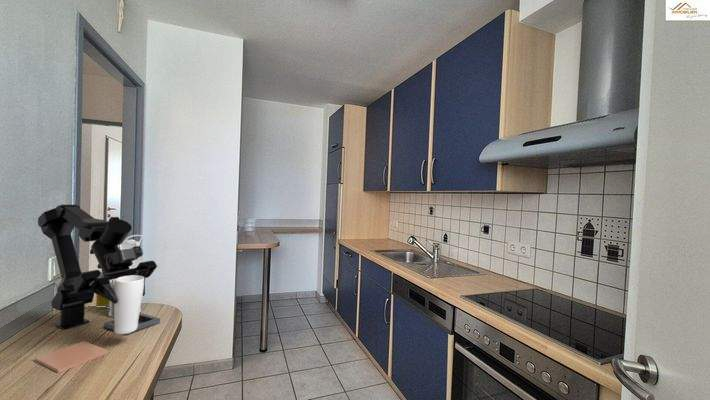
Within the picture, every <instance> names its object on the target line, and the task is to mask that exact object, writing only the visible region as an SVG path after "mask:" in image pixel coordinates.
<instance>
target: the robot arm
mask: <svg viewBox="0 0 710 400" xmlns="http://www.w3.org/2000/svg"><path fill="white" fill-rule="evenodd" d="M37 225H38V227H39V228H40V230H41V232H42V234H43V235H45V236H46V237H48V238H49V239H50V240H51V242H52V246H53V249H54V255H55V258H56V262H57V265H58V270H59V272H60V273H59V274H60V277H61V280H60V281H59V284H58V286H57V288H56V290H57V292H56V294H55V295H54V296H53V299H51V307H52V309H54V310H57V311H60V314H59V318H60V319H59V320H60V321H59V322H58V323H55V324H54V327H56V328H59V329H61V330H67V329H72V328H74V327H78V326H82V325H84V324H87V323H88V324H89V323H90V322H91V321H90V319H86V318H85V307H86V304H89V303H90V304H91V303H93V301H94V296H95V294H98V295H100V296H102V297H104V298H106V299H108V300H109V301H111V302H113V303H114V304H116V303H117V302H118V300H117V297H116V295H115V293H114V291H113V289H112V287H111V285H110V282H111V281H112V280H115V279H117V278H119V277H123V276H131V275H137V276H143V277H144V290H143V297H144V296H145V295H146V282H145V281H146V279H147V278H149V277H151V276H152V274H153V273H154V272H155V270H156V269H157V267H158V264H157V263H156V262H155V260H146V261H142V262H140V263H139V265H138V266H137V267H136V268H132V269H129V266H132V264H133V262H132V261H134V260H135V259H138V258H139V257H141V258H142V256H143V255H144V252H143V249H142V248H141V246H135V247H133V248H131V249H124V250H120V248H119V245H120V244H122V243H123V241H124V240H125V239H126V238H127V237H128V235H129V234H130V232H131V231H132V228H133V227H132V225H131V223H129V222H128V221H126V220H123V219H120V217H119V216H111V217H110V218H109V219H108V220H106V219H98V218H95V217H93V216H92V215H90V214H89V213H88V212H86V211H85V210H84V209H82V208H81V207H80V205H78V204H58V205H57V206H56V207H55V208H52V209H49V210H46V211H44V212H43V213H42V214H41V215H39V216H38V218H37ZM75 228H76V229H78V236H79V238H80V239H81V240H82V241H83V242H84V243H85V242H93V243H92V245H91V247H90V250H89V254H90V255H94V256H95V258H96V261H97V263H98V264H97V266H96V267H97V269H94V270H89V271H83V272H82V270H81V267H80V263H79V259H78V255H77V252H76V248H75V244H74V242H73V238H72V232H73V231H74V229H75ZM100 269H101V270H100ZM101 271H102V272H101ZM110 280H111V281H110Z"/></svg>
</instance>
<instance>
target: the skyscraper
mask: <svg viewBox="0 0 710 400" xmlns="http://www.w3.org/2000/svg"><path fill="white" fill-rule="evenodd" d="M133 237H140V239H139V241H137V240H135V239H130V238H133ZM143 237H144V235H142V234H133V235H129V236H127V237H126V238H125V240H124V241H123V243H122V244H120V245H118V247H119V249H120V250H124V249H131V248H133V247H135V246H140V245H141V242H142V240H143ZM140 247H141V246H140ZM132 262H133V264H132V266H129V269H132V268H136V267H137V266H138V265H139V263H140V262H143V261H142V256H141V257H139V258H138V259H135V260H134V261H132ZM131 276H132V275H131ZM111 282H112V285H111V287H112V289H113V291H114V284H115V283H114V279H112V280H111ZM140 313H142V310H141V308H140ZM106 317H108V318H112V319H114V303H113V302H111V301H110V305H109V311H108V314H107V316H106Z"/></svg>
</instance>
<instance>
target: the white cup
mask: <svg viewBox="0 0 710 400" xmlns="http://www.w3.org/2000/svg"><path fill="white" fill-rule="evenodd" d="M113 284H114V293H115V295H116V297H117V300H118V302H117V303H116V304H114V318H113V320H114V331H113V333H115V334H116V335H123V334H128V333H131V332H134V331H135V330H136V329H137V328H138V319H139V314H140V309H141V306H142V302H143V297H144V296H143V290H144V277H143V276H137V275H132V276H123V277H119V278H117V279H114V283H113Z"/></svg>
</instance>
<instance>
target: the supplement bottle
mask: <svg viewBox="0 0 710 400" xmlns="http://www.w3.org/2000/svg"><path fill="white" fill-rule="evenodd" d="M110 285H112V281H110ZM95 294H96V293H95ZM95 303H96V306H106V307H96V306H95V307H96V308H95V311H96V312H109V308H107V307H109V305H110V301H109V300H108V299H106V298H104V297H102V296H100V295H98V294H96V302H95Z"/></svg>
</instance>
